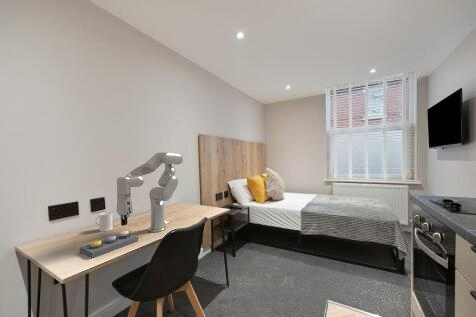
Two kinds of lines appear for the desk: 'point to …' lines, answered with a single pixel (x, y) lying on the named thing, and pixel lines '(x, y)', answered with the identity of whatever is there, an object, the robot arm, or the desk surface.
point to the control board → (108, 246)
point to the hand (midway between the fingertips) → (124, 224)
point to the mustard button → (96, 243)
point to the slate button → (110, 238)
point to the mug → (105, 221)
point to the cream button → (124, 233)
